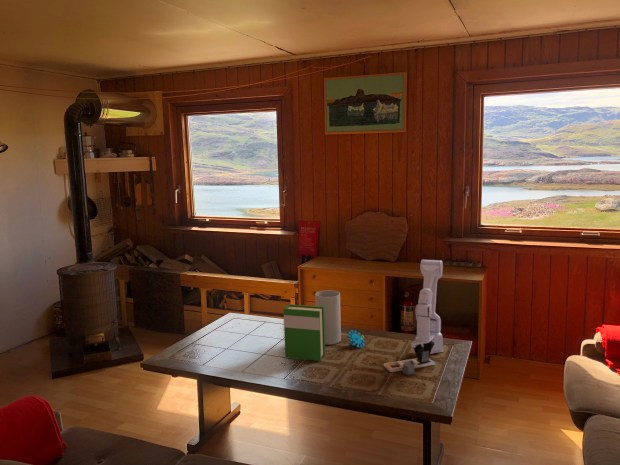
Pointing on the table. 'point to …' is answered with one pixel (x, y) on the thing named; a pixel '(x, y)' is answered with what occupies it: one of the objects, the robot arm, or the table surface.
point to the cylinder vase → (330, 315)
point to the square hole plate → (414, 361)
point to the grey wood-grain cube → (408, 368)
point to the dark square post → (425, 356)
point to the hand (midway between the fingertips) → (423, 358)
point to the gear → (356, 339)
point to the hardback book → (304, 332)
